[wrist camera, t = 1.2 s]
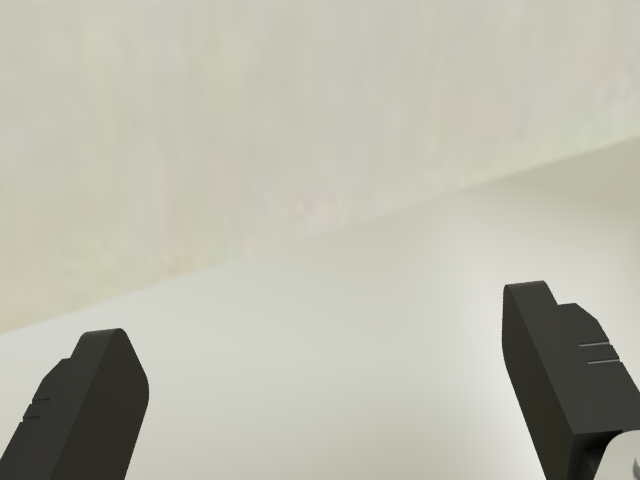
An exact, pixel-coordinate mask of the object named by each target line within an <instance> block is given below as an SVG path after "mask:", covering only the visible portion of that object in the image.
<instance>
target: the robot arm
mask: <svg viewBox="0 0 640 480" xmlns="http://www.w3.org/2000/svg"><path fill="white" fill-rule="evenodd" d="M502 349H503V356H504V361H505V365H506V368H507V371H508V374H509V377H510V379H511V383H512V385H513V388H514V391H515V394H516V396H517V399H518V402H519V405H520V407H521V410H522V413H523V416H524V419H525V422H526V424H527V427H528V430H529V432H530V435H531V438H532V441H533V444H534V447H535V449H536V452H537V455H538V458H539V460H540V463H541V466H542V469H543V472H544V475H545V477H546V480H640V392H639V390H638V389H637V387H636V385H635V384H634V382H633V380H632V378H631V376H630V375H629V373H628V372H627V370H626V368H625V366H624V365H623V363H622V362H620V360H619V356H618V355H617V353H616V351H615V349H614V348H613V346H612V345H610V343H609V339H608V337H607V336H606V334H605V332H604V331H603V329H602V327H601V326H600V324H599V322H598V321H597V319H595V318H594V317H593V316H592V315H590V314H589V313H588V312H586V311H585V310H584V309H583V308H581V307H580V306H579V305H577V304H576V303H572V304H562V305H557V302H556V300H555V299H554V297H553V295H552V293H551V291H550V289H549V287H548V285H547V284H546V282H544V281H534V282H525V283H517V284H508V285H505V287H504V292H503V319H502ZM148 400H149V385H148V380H147V377H146V374H145V372H144V370H143V368H142V366H141V364H140V361H139V359H138V357H137V355H136V353H135V351H134V349H133V346H132V344H131V342H130V340H129V338H128V336H127V334H126V332H125V331H124V330H123V329H121V328H117V329H108V330H100V331H91V332H86V333H84V334H83V335H82V336H81V337H80V339H79V342H78V343H77V345H76V347H75V349H74V351H73V353H72V355H71V357H70V358H68V359H62V360H61V361H60V362H59V363H58V364H57V365H56V366H55V367H54V368H53V369H52V370H51V371H50V372H49V373H48V374H47V375H46V376H45V377H44V378H43V380H42V382H41V384H40V386H39V387H38V390H37V391H36V393H35V395H34V397H33V399H32V404H30V405H29V406H28V408H27V410H26V412H25V414H24V416H23V422H20V423H19V425H18V427H17V429H16V431H15V433H14V435H13V437H12V439H11V440H10V443H9V444H8V446H7V448H6V450H5V452H4V454H3V456H2V458H1V460H0V480H124V479H125V476H126V472H127V469H128V466H129V463H130V460H131V457H132V453H133V450H134V447H135V444H136V440H137V438H138V434H139V431H140V428H141V425H142V422H143V418H144V415H145V412H146V409H147V405H148Z"/></svg>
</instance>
